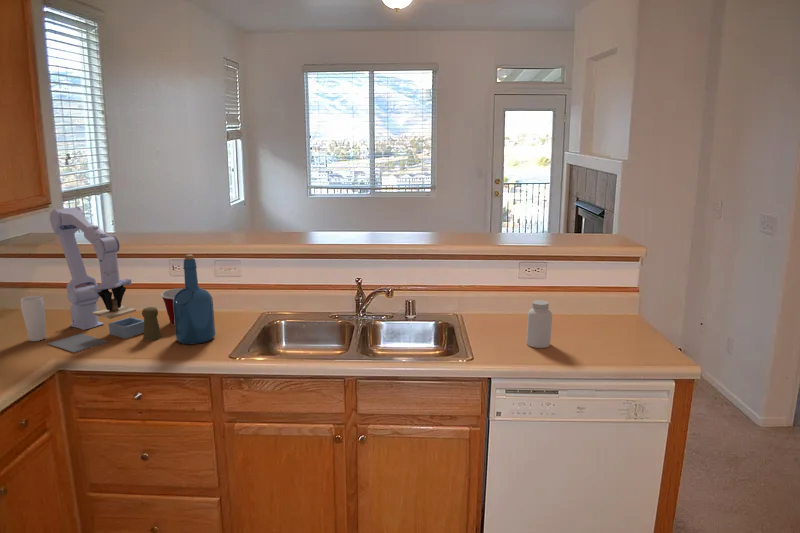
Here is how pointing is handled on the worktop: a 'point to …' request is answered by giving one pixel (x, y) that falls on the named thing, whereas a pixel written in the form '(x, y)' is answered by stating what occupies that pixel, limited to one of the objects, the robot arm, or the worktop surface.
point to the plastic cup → (170, 302)
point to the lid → (114, 311)
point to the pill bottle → (539, 325)
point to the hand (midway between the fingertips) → (113, 308)
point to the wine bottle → (193, 309)
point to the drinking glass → (34, 317)
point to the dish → (127, 327)
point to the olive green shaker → (151, 324)
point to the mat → (77, 342)
